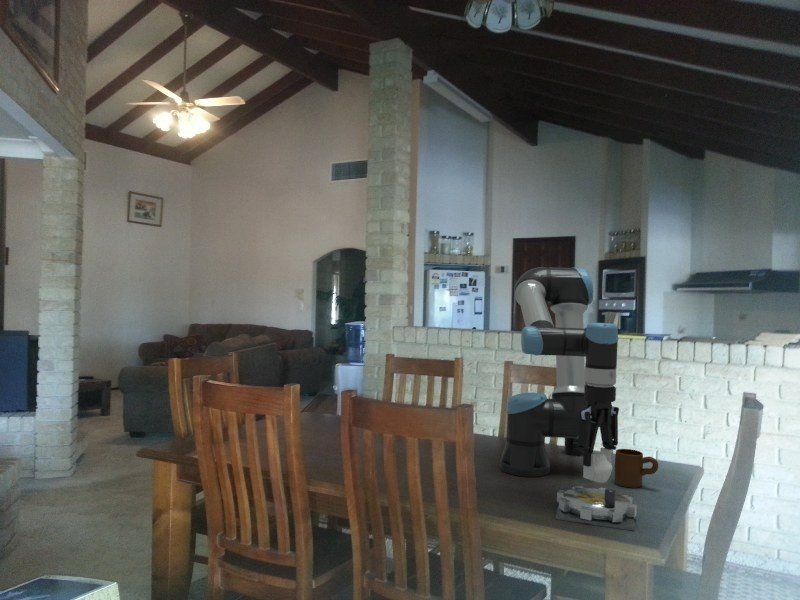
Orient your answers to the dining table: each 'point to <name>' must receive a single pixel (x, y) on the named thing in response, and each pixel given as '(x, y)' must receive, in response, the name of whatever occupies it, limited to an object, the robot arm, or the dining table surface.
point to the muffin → (602, 468)
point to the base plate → (596, 520)
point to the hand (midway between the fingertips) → (597, 476)
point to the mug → (632, 467)
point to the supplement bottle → (572, 447)
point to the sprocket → (596, 503)
